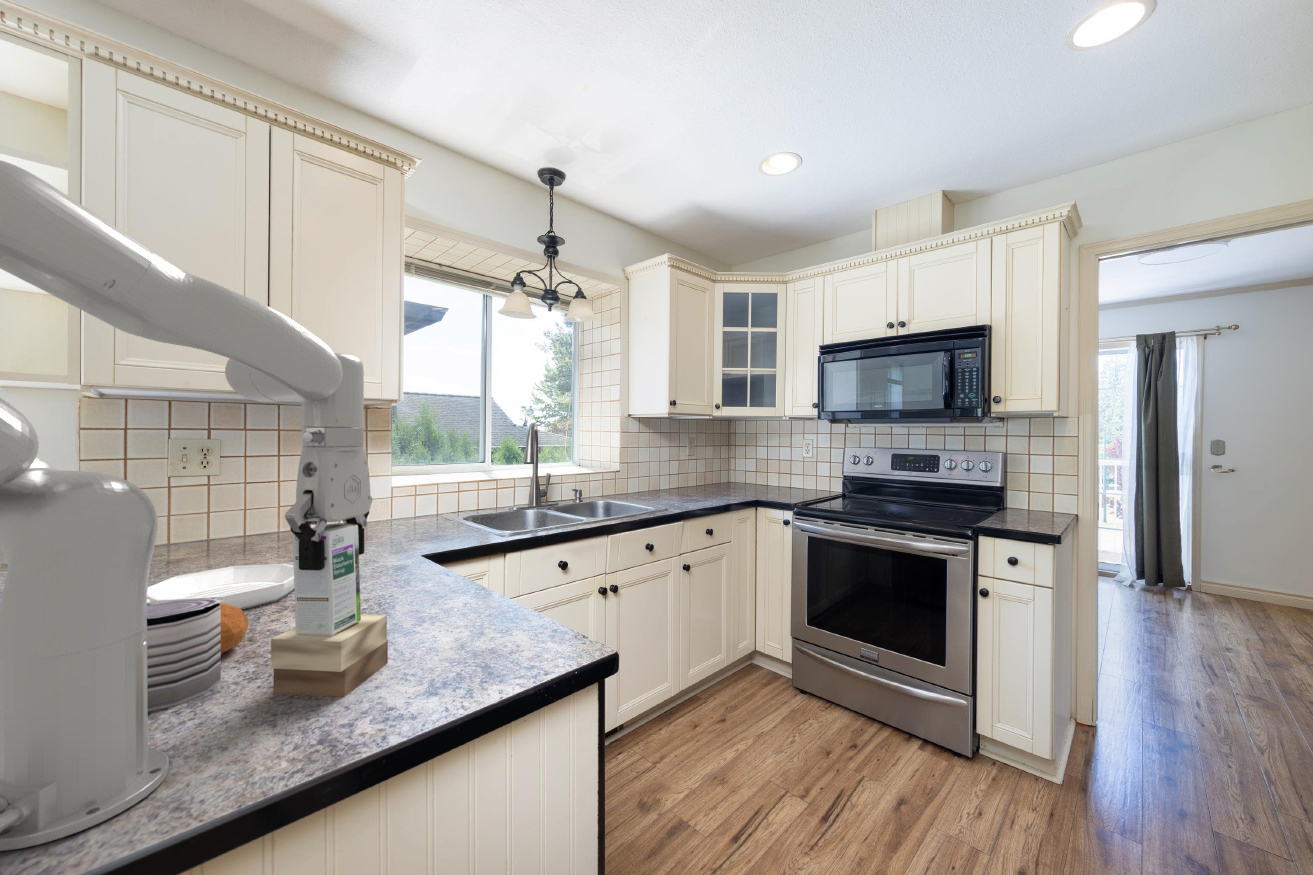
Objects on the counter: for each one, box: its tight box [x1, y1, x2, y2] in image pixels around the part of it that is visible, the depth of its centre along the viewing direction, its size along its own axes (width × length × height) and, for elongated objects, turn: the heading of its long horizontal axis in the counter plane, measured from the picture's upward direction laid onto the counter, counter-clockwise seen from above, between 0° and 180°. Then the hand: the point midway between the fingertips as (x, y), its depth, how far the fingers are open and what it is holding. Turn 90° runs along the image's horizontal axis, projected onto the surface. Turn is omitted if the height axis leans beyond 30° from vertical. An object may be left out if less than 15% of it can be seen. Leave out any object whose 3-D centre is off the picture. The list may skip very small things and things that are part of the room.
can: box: [147, 598, 223, 713], centre depth 70 cm, size 11×11×12 cm
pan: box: [147, 563, 294, 611], centre depth 109 cm, size 31×26×4 cm
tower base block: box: [273, 639, 389, 698], centre depth 74 cm, size 10×10×4 cm
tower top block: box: [270, 613, 388, 672], centre depth 74 cm, size 10×10×4 cm
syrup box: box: [292, 522, 362, 636], centre depth 73 cm, size 6×6×14 cm
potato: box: [219, 603, 250, 655], centre depth 82 cm, size 9×11×8 cm
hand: (333, 560), depth 74 cm, fingers open, 8 cm apart
